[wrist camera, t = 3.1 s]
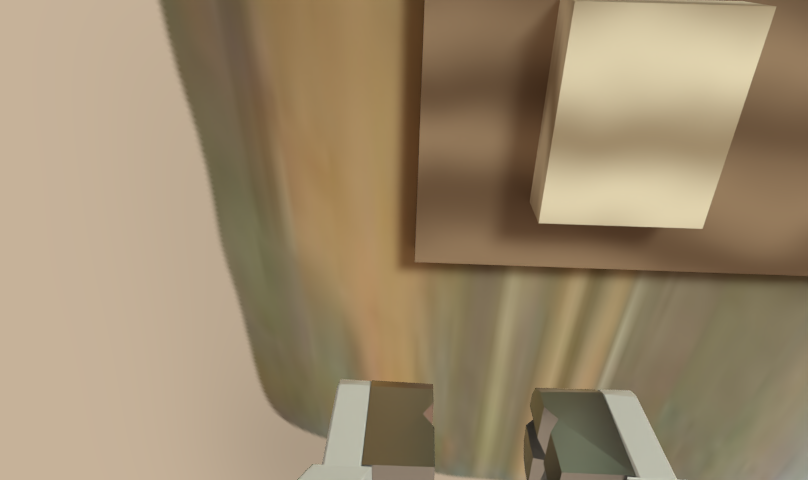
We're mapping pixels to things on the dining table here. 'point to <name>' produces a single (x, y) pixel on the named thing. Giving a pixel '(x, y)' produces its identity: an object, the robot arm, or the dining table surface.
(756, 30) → the birch plate
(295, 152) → the dining table surface
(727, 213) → the board
